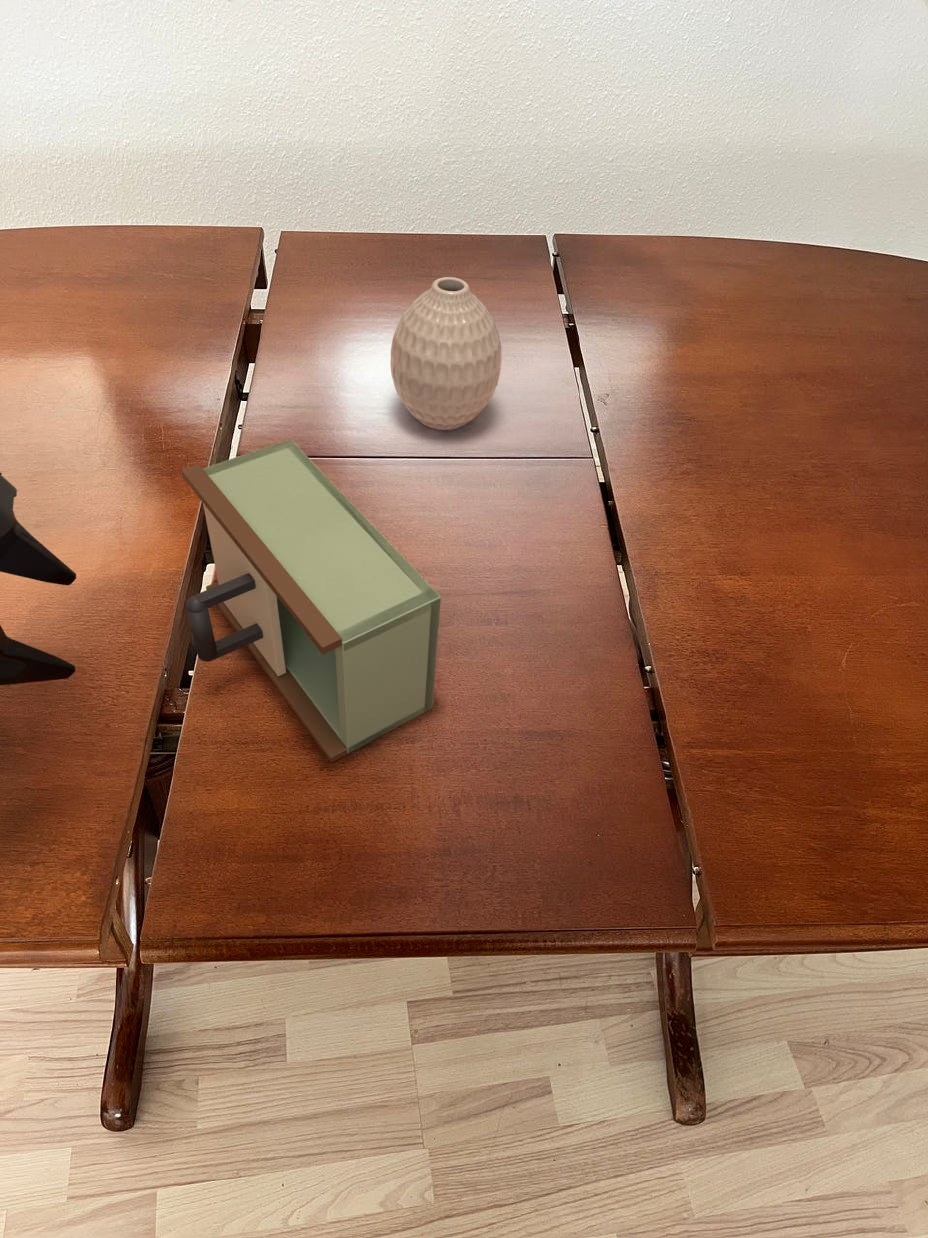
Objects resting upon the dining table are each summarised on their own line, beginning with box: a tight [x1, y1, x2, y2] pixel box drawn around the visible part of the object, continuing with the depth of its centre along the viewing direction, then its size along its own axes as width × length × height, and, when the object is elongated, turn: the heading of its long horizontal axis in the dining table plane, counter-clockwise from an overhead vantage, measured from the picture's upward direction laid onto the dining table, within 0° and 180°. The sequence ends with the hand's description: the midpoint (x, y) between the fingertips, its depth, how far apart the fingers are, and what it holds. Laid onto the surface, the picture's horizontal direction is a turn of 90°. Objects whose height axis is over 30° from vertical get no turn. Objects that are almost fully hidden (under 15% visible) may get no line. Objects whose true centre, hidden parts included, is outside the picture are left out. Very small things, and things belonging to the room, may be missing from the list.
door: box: [185, 503, 286, 676], centre depth 72 cm, size 6×11×12 cm, turn 36°
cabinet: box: [180, 438, 442, 764], centre depth 73 cm, size 10×23×15 cm, turn 36°
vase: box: [390, 276, 503, 431], centre depth 99 cm, size 13×13×17 cm
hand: (72, 624), depth 62 cm, fingers open, 9 cm apart
